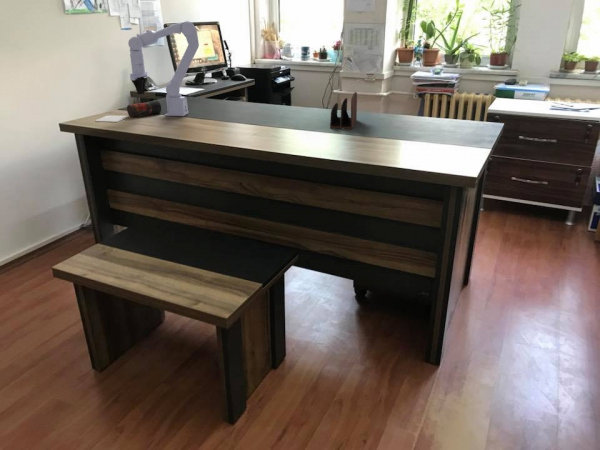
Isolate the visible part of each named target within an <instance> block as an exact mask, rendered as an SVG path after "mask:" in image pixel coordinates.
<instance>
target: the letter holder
mask: <svg viewBox="0 0 600 450" xmlns="http://www.w3.org/2000/svg"><path fill="white" fill-rule="evenodd" d="M350 100H351V101H350V115H349V113H348V98H347V97H345V98H344V100H343V101H342V103H341V105H340V116H338V108H339V104H338V102H336V103H334V105H333V106H332V108H331V111H330V120H329V121H330V122H329V129H332V128H344V129H343V130H353V128H354V126H355V124H356V122H357V112H358V109H357V108H358V107H357V106H358V93H357V91H355V92H353V94H352V97H351V99H350Z"/></svg>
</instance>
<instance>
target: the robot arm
mask: <svg viewBox="0 0 600 450" xmlns="http://www.w3.org/2000/svg"><path fill="white" fill-rule="evenodd" d="M172 34H179V35H181V34H183V36H184V37H185V38H186V39H185V40H186V41H187V44H188V45H187V46H186V49H185V51H184V53H183V56H182V58H181V59H180V62H178V63H179V64H178V66H177V68H176V70H175V72H174V74H173V76H172V78H171V80H169V81H168V82H167V83H166V87H165V92H166V94H165V99H166V109H167V113H165V114H164V116H167V117H168V116H169V117H171V116H173V117H174V116H175V117H185V116H186V115H188V114H189V113H190V112H189V107H188V99H187V96H184V95H183V96H182V94H181V93H180V89H181V88H180V87H181V85H182V83H183V81H184V78H185V75H186V73H187V71H188V69H189V67H190V65H191V63H192V61H193V60H194V57H195V55H196V53H197V50H198V49H199V46H200V43H199V37H198V31H197V29H196V27H195V24H194V23H193V22H191V21H189V20H186V21H183V22H177V23H174V24H171V25H169V26H167V27H164V28H162V29H159V30H157V31H155V30H152V29H146V31H145V32H142V33H141V34H139V33H137V34H136V36H132V37H131V38H129V40H128V42H127V44H128V47H129V53H130V54H129V56H130V58H129V59H130V66H131V72H132V73H129V78H130V81H131V82H132V84H133V85H134V87H135V91H136V94H137V95H144V94H145V91H146V89H145V88H146V84H147V81H148V72H147V71H146V70H145V61H144V54H143V48H146V47H150V46H152V45H154V44H157V43H158V41H159V39H161V38H164V37H167V36H170V35H172Z"/></svg>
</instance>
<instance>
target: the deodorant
mask: <svg viewBox="0 0 600 450" xmlns="http://www.w3.org/2000/svg"><path fill="white" fill-rule="evenodd" d="M126 106H127V107H126V112H127V116H129V117H130V118H137V117H143V116H149V115H156V114H160V113H161V112H162V105H161V102H160V101H158V100H152V101H147V102H141V103H140V102H139V103H133V104H128V105H126Z"/></svg>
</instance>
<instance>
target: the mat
mask: <svg viewBox="0 0 600 450" xmlns="http://www.w3.org/2000/svg"><path fill="white" fill-rule="evenodd" d="M129 117H130V116H129V115H105V116H102V117H100V118H97V119H95V120H94V122H96V123H97V122H98V123H99V122H101V123H119V122H121V121H123V120H125V119H128V118H129Z"/></svg>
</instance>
